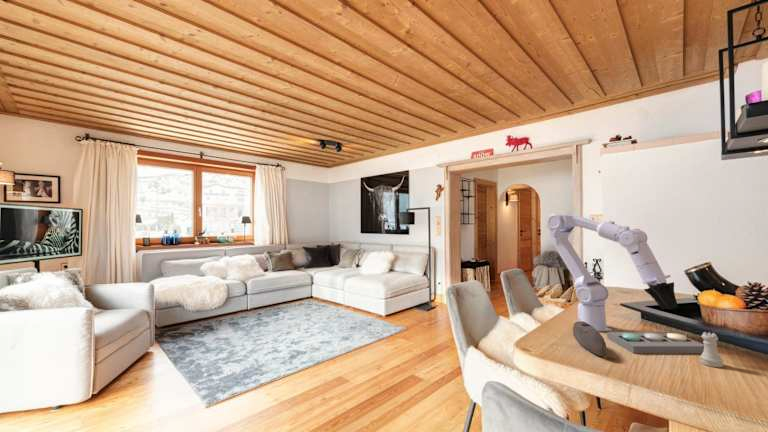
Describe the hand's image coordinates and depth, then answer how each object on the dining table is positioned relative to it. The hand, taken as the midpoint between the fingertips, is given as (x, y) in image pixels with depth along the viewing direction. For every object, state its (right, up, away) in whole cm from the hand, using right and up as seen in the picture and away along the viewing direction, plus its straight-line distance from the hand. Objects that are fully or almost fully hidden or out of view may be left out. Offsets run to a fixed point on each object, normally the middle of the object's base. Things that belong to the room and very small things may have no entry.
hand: (669, 308), depth 97 cm
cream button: (+4, -10, +2) cm, 11 cm away
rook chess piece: (0, -11, -12) cm, 17 cm away
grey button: (-3, -10, +2) cm, 11 cm away
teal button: (-9, -10, +3) cm, 14 cm away
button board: (-3, -12, +2) cm, 12 cm away
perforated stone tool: (-23, -13, 0) cm, 27 cm away
